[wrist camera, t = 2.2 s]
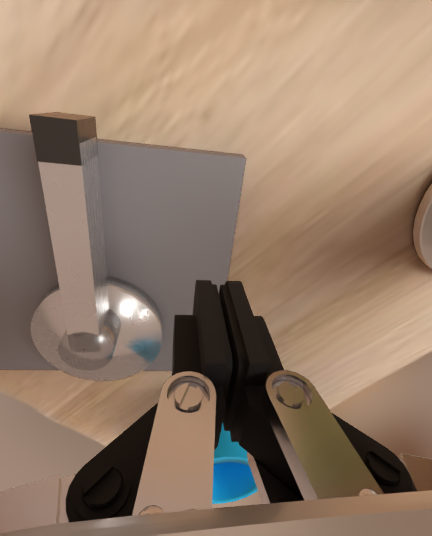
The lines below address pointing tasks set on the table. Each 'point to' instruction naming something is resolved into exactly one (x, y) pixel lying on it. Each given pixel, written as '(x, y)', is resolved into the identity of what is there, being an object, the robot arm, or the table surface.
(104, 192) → the stand base
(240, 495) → the mug
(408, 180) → the table surface
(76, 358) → the lever
